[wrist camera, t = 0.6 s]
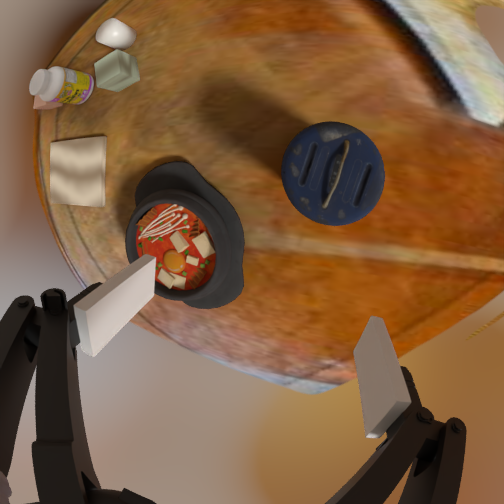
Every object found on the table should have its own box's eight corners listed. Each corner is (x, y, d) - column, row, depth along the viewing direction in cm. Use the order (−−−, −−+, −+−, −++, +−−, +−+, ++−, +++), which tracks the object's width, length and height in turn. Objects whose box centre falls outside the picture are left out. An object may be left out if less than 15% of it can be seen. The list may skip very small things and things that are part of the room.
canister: (276, 177, 39) (255, 190, 22) (311, 123, 36) (316, 95, 19) (330, 214, 39) (349, 254, 23) (366, 161, 36) (411, 164, 19)
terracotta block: (52, 88, 40) (36, 86, 35) (65, 83, 39) (49, 81, 34) (49, 109, 41) (33, 108, 37) (62, 105, 41) (45, 104, 36)
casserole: (121, 189, 44) (91, 197, 36) (211, 141, 39) (189, 137, 31) (178, 313, 50) (159, 338, 42) (271, 288, 45) (264, 314, 37)
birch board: (54, 142, 44) (50, 142, 42) (106, 136, 41) (102, 136, 40) (54, 201, 48) (50, 202, 47) (105, 206, 46) (101, 207, 45)
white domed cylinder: (117, 31, 34) (99, 22, 29) (138, 26, 34) (121, 15, 28) (112, 53, 36) (93, 45, 30) (133, 48, 35) (114, 38, 30)
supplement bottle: (74, 110, 41) (26, 107, 29) (71, 84, 39) (25, 77, 27) (97, 94, 39) (48, 87, 27) (93, 67, 37) (47, 56, 25)
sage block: (114, 70, 37) (94, 63, 32) (136, 57, 36) (117, 49, 30) (118, 92, 38) (97, 87, 33) (140, 79, 37) (120, 72, 32)
